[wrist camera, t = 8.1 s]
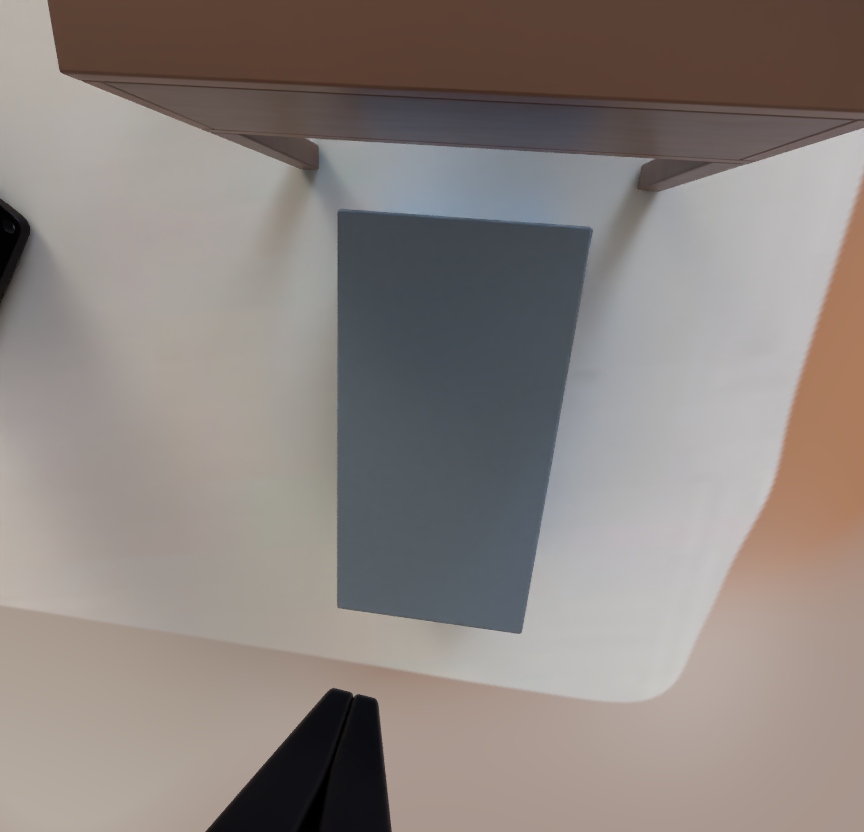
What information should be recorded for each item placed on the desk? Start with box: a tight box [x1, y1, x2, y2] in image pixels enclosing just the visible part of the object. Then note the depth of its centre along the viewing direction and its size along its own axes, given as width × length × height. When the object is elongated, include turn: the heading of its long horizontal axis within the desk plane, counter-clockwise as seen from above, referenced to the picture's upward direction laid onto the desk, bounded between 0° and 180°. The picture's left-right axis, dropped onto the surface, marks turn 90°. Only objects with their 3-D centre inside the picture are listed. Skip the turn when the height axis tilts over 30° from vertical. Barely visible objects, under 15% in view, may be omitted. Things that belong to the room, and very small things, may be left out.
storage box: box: [337, 209, 593, 634], centre depth 18 cm, size 14×7×5 cm, turn 176°
